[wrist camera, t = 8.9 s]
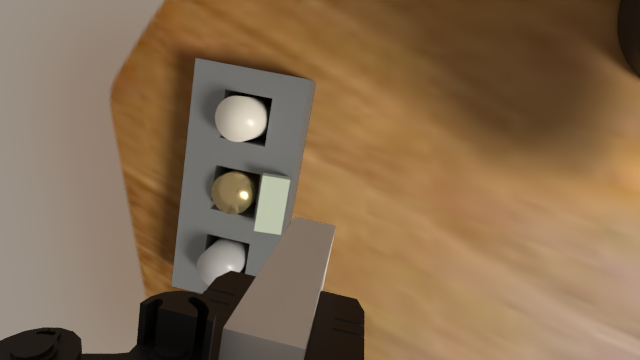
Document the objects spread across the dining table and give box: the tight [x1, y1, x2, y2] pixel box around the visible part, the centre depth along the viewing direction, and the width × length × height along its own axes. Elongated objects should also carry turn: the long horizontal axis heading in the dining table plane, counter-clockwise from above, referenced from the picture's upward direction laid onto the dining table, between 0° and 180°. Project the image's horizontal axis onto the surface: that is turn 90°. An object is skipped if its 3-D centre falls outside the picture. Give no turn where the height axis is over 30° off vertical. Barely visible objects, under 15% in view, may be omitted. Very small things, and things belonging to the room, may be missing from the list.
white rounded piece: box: [215, 96, 271, 142], centre depth 37 cm, size 4×4×5 cm
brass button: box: [211, 169, 260, 214], centre depth 40 cm, size 4×4×5 cm
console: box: [172, 58, 316, 294], centre depth 41 cm, size 26×12×4 cm, turn 169°
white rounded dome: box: [197, 237, 250, 285], centre depth 41 cm, size 4×4×5 cm
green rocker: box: [254, 173, 290, 235], centre depth 37 cm, size 6×3×2 cm, turn 169°
